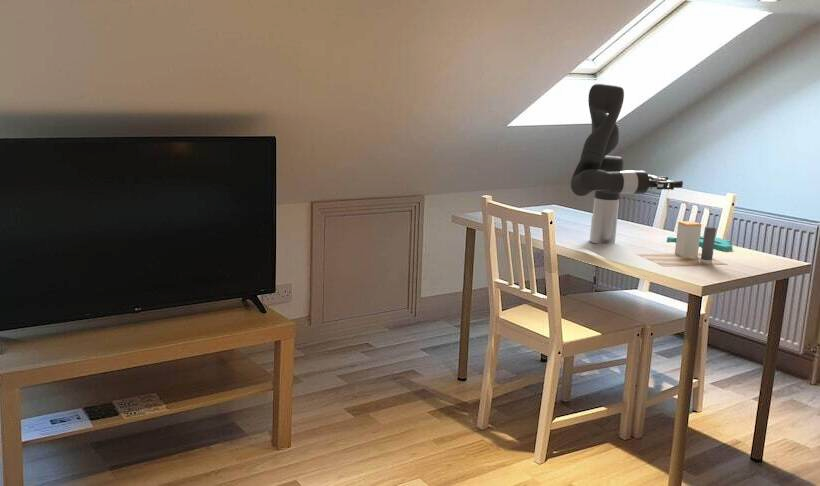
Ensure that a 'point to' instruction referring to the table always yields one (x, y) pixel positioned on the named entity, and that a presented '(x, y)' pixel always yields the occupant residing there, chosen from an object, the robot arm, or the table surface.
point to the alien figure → (718, 243)
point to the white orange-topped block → (688, 239)
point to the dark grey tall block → (708, 245)
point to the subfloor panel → (677, 260)
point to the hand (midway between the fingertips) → (674, 182)
